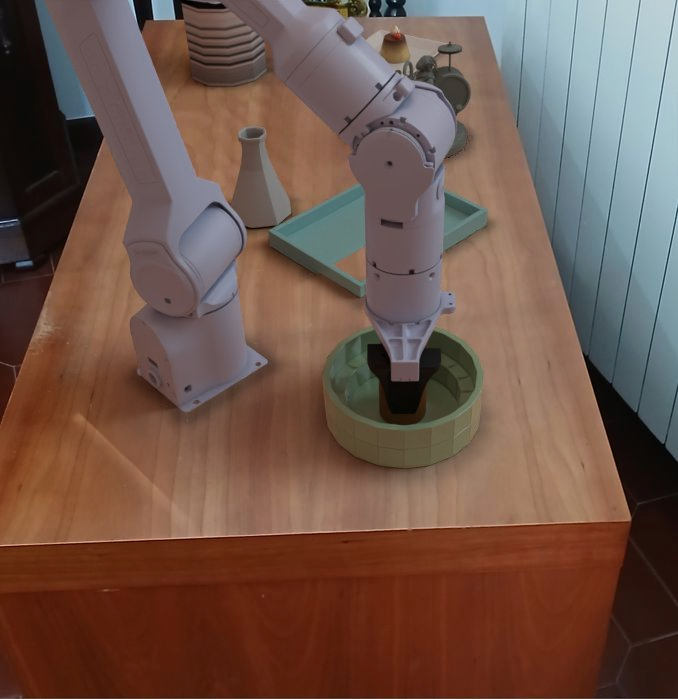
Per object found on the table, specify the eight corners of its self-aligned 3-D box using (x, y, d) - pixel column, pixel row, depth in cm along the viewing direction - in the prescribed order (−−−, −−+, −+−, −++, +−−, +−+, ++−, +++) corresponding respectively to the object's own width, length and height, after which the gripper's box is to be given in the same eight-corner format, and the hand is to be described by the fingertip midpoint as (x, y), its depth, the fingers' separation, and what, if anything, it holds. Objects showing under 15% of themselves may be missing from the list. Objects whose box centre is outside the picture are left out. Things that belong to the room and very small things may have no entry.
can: (178, 65, 136) (165, -18, 128) (248, 47, 140) (240, -34, 132) (207, 94, 128) (195, 8, 120) (281, 75, 132) (274, -10, 124)
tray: (360, 302, 92) (360, 286, 90) (269, 245, 100) (267, 230, 98) (486, 225, 101) (488, 209, 100) (394, 179, 109) (394, 164, 108)
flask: (283, 232, 101) (276, 151, 95) (220, 227, 103) (209, 146, 96) (299, 197, 107) (292, 118, 100) (239, 193, 108) (229, 114, 101)
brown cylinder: (403, 434, 77) (403, 346, 71) (369, 410, 79) (367, 322, 73) (435, 410, 79) (439, 322, 73) (402, 387, 81) (402, 300, 75)
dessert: (411, 82, 129) (411, 49, 125) (338, 66, 134) (336, 33, 130) (449, 50, 136) (451, 18, 133) (379, 36, 141) (379, 5, 138)
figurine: (375, 124, 120) (374, 34, 112) (456, 116, 120) (461, 26, 113) (389, 165, 112) (389, 70, 104) (476, 156, 112) (482, 61, 105)
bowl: (404, 499, 72) (404, 456, 69) (294, 415, 80) (290, 372, 77) (511, 414, 79) (516, 371, 76) (400, 344, 86) (401, 302, 83)
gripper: (464, 313, 63) (455, 450, 71) (452, 199, 74) (446, 330, 82) (360, 314, 63) (365, 450, 72) (364, 200, 74) (367, 330, 83)
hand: (402, 386), depth 77 cm, fingers open, 5 cm apart
